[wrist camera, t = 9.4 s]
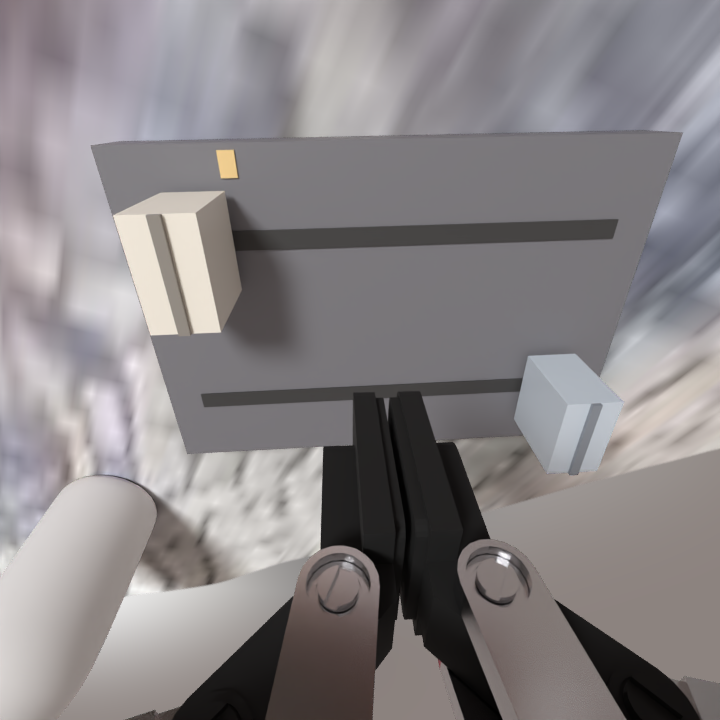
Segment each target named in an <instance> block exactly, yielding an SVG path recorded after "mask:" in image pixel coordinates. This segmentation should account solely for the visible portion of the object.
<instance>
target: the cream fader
mask: <svg viewBox="0 0 720 720" xmlns="http://www.w3.org/2000/svg"><path fill="white" fill-rule="evenodd" d="M113 217H114V220H115V224H116V227H117V230H118V233H119V236H120V240H121V243H122V246H123V249H124V252H125V255H126V259H127V262H128V265H129V268H130V271H131V275H132V278H133V281H134V284H135V287H136V290H137V294H138V297H139V300H140V303H141V306H142V310H143V313H144V316H145V319H146V322H147V326H148V329H149V332H150V335H173V334H178V336H191V334H197V333H221V332H222V329H223V327H224V325H225V323H226V321H227V319H228V317H229V315H230V313H231V311H232V309H233V307H234V305H235V303H236V301H237V299H238V297H239V295H240V293H241V291H242V287H241V282H240V276H239V270H238V264H237V259H236V253H235V247H234V241H233V235H232V230H231V224H230V218H229V212H228V207H227V201H226V195H225V191H201V192H164V193H159V194H156V195H154V196H152V197H150V198H148V199H146V200H144V201H142V202H140V203H138V204H136V205H133V206H131V207H129V208H127V209H125V210H123V211H121V212H119V213H117V214H115V215H113Z"/></svg>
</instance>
